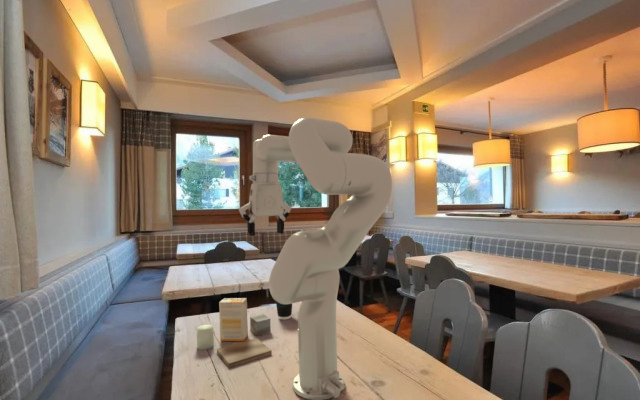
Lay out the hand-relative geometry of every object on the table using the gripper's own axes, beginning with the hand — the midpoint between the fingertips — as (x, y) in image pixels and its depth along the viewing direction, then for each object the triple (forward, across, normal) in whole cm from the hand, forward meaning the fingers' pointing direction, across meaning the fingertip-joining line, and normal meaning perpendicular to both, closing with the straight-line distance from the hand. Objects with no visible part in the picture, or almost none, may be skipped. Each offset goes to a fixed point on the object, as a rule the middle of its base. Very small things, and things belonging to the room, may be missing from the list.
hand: (266, 234), depth 102 cm
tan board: (+36, -8, 0) cm, 36 cm away
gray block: (+36, +3, +13) cm, 38 cm away
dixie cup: (+36, +17, +20) cm, 45 cm away
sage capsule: (+36, -16, +13) cm, 41 cm away
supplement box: (+36, -6, +13) cm, 39 cm away
